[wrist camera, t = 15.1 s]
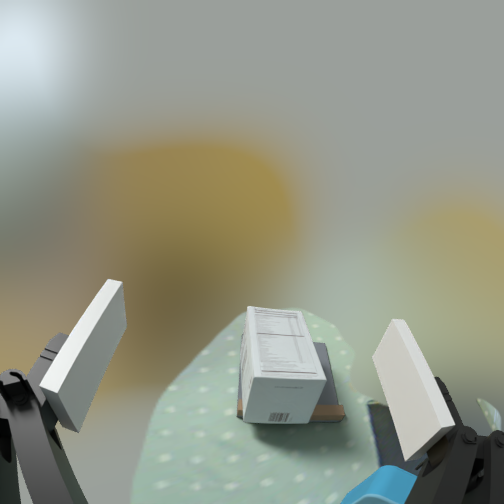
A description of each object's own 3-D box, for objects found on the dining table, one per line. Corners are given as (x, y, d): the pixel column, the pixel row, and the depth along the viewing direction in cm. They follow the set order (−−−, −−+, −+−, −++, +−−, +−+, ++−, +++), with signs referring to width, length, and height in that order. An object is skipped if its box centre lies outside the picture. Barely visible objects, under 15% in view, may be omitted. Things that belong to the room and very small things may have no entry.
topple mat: (340, 421, 41) (344, 415, 40) (236, 416, 40) (238, 409, 39) (324, 344, 57) (327, 337, 56) (242, 336, 56) (243, 328, 55)
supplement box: (308, 424, 37) (291, 353, 53) (329, 379, 34) (304, 310, 50) (240, 422, 37) (238, 348, 52) (251, 376, 33) (246, 304, 49)
